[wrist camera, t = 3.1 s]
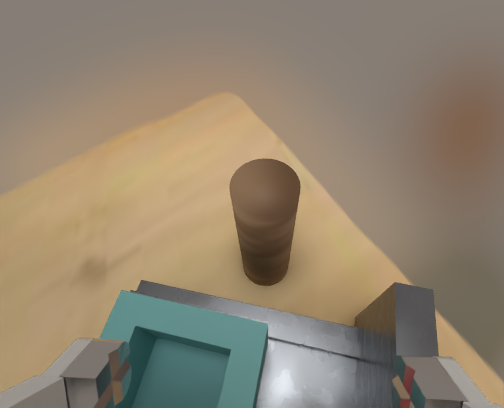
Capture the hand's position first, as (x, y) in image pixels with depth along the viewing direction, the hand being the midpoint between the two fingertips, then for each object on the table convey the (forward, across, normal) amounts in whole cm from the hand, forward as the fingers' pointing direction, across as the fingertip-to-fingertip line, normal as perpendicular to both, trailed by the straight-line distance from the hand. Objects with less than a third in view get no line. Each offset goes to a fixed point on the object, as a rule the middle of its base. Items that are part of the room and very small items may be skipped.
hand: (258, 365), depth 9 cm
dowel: (+18, 0, +4) cm, 18 cm away
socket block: (+10, +5, +11) cm, 15 cm away
